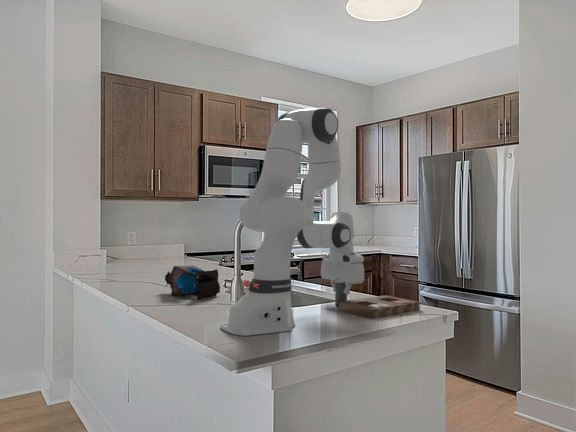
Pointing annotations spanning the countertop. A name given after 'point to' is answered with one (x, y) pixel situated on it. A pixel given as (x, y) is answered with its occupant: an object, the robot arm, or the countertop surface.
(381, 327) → the countertop surface
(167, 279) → the lantern
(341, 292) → the plug
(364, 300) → the socket plate
